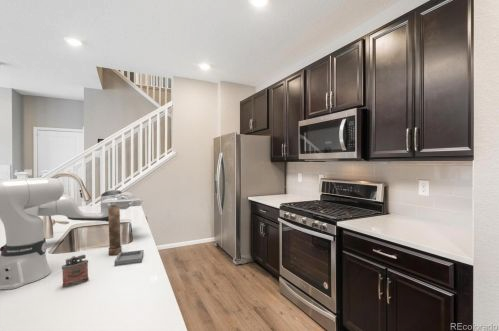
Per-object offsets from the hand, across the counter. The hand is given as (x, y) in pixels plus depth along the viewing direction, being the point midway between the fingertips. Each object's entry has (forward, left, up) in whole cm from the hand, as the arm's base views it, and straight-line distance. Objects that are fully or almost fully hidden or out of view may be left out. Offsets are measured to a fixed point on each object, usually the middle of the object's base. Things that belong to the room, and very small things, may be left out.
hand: (119, 205), depth 133 cm
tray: (+8, -23, -21) cm, 32 cm away
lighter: (-8, -40, -22) cm, 47 cm away
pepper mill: (0, -12, -21) cm, 25 cm away
